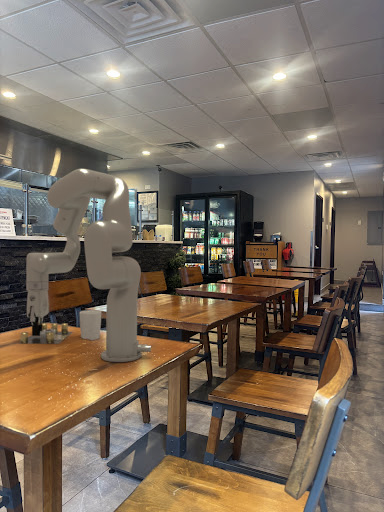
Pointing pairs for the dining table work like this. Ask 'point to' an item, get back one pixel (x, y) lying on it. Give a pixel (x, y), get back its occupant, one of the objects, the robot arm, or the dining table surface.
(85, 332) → the white cup
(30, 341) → the jig plate
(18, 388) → the dining table surface
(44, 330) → the steel nut
